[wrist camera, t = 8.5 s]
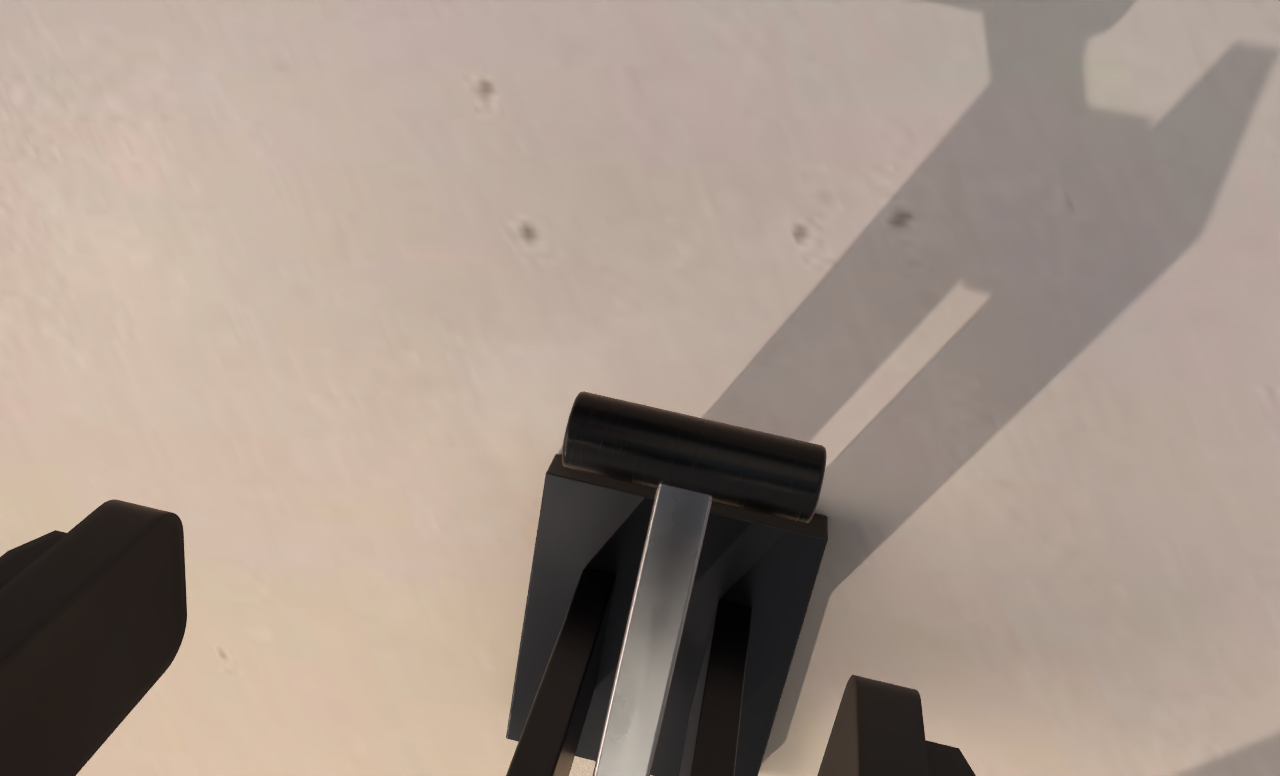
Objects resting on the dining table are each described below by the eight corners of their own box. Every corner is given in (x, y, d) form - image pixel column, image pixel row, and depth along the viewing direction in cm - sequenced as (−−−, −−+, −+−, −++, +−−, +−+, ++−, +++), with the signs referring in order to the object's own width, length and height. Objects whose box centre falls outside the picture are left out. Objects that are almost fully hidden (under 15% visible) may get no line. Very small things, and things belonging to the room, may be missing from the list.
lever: (587, 387, 22) (570, 393, 20) (821, 440, 22) (832, 453, 19) (460, 974, 23) (428, 1048, 21) (682, 1034, 23) (676, 1117, 20)
